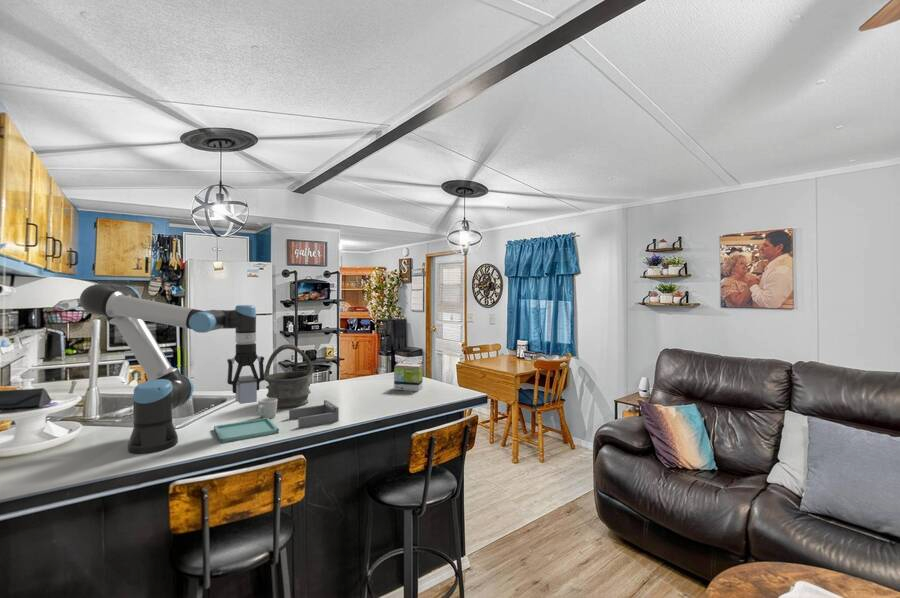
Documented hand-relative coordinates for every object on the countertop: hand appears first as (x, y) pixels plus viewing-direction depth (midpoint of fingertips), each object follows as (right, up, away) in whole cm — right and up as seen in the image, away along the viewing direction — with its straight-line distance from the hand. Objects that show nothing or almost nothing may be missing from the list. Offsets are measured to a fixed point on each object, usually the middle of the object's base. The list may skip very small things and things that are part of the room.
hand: (246, 399), depth 173 cm
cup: (0, -13, +18) cm, 22 cm away
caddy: (0, 0, 0) cm, 0 cm away
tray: (0, -13, 0) cm, 13 cm away
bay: (+22, -13, +16) cm, 30 cm away
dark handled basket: (+1, -12, +43) cm, 45 cm away
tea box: (+59, -12, +77) cm, 98 cm away
